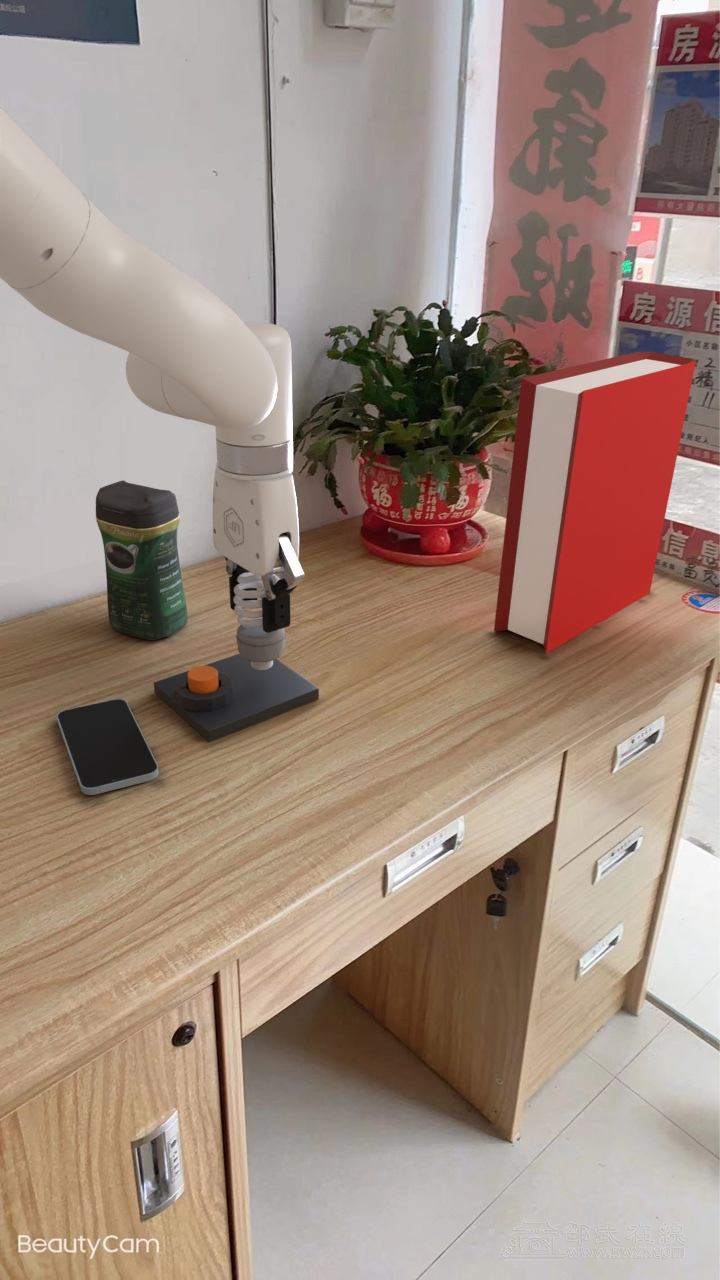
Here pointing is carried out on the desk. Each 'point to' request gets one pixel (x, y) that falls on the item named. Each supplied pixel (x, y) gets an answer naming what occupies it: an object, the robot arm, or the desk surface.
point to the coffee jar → (141, 560)
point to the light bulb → (255, 625)
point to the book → (589, 491)
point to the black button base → (236, 696)
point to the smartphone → (106, 746)
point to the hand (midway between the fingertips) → (260, 616)
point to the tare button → (203, 679)
